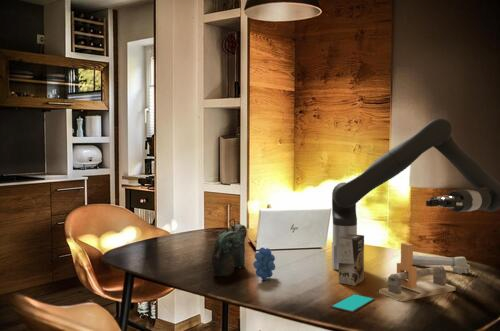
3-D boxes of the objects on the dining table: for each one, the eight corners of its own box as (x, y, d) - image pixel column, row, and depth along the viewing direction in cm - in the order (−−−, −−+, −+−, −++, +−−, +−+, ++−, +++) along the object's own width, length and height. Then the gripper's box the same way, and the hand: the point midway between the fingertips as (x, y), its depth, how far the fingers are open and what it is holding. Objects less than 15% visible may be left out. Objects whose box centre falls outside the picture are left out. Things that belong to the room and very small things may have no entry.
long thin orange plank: (411, 289, 159) (412, 246, 159) (396, 283, 166) (397, 242, 165) (416, 288, 160) (417, 245, 160) (401, 282, 166) (401, 241, 166)
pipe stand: (401, 301, 155) (401, 277, 155) (379, 292, 164) (379, 270, 164) (455, 290, 166) (455, 268, 166) (432, 282, 175) (432, 261, 175)
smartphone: (330, 306, 150) (353, 294, 162) (330, 309, 150) (353, 296, 162) (352, 311, 145) (375, 298, 157) (352, 314, 145) (375, 301, 157)
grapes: (264, 285, 172) (264, 251, 172) (249, 282, 176) (248, 248, 176) (283, 278, 181) (283, 245, 181) (268, 275, 186) (268, 243, 185)
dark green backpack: (237, 264, 202) (236, 215, 201) (250, 266, 199) (250, 216, 197) (208, 276, 185) (208, 222, 184) (223, 278, 181) (223, 223, 180)
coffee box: (355, 286, 172) (356, 239, 171) (337, 283, 175) (338, 237, 174) (364, 279, 180) (365, 235, 179) (347, 277, 183) (347, 233, 182)
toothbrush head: (405, 253, 204) (469, 253, 188) (407, 269, 204) (472, 271, 188) (400, 255, 200) (466, 256, 184) (402, 272, 200) (468, 274, 184)
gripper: (449, 188, 179) (413, 189, 171) (481, 191, 167) (444, 193, 159) (448, 208, 179) (412, 211, 172) (480, 214, 168) (443, 217, 160)
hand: (427, 203), depth 166 cm, fingers closed
